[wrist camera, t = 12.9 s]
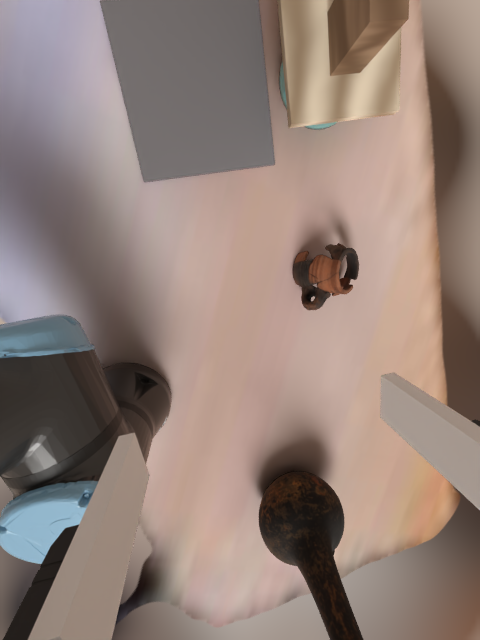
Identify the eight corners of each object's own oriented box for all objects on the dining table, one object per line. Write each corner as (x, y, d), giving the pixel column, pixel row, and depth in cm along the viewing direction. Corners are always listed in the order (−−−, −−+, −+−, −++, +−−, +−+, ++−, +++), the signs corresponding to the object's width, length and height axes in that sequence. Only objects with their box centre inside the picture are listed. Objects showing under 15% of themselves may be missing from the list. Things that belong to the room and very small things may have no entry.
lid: (288, 128, 32) (318, 86, 24) (274, -28, 28) (304, -144, 19) (393, 114, 33) (455, 71, 25) (396, -36, 29) (471, -147, 21)
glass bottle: (275, 528, 60) (334, 747, 34) (238, 485, 55) (272, 707, 28) (337, 490, 60) (445, 682, 33) (305, 444, 55) (404, 628, 28)
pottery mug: (300, 234, 42) (345, 230, 36) (325, 259, 49) (368, 259, 42) (277, 299, 42) (319, 306, 35) (305, 316, 48) (345, 324, 42)
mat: (144, 182, 36) (143, 181, 36) (101, 4, 30) (99, 0, 30) (274, 165, 38) (274, 163, 38) (256, -5, 32) (257, -9, 32)
